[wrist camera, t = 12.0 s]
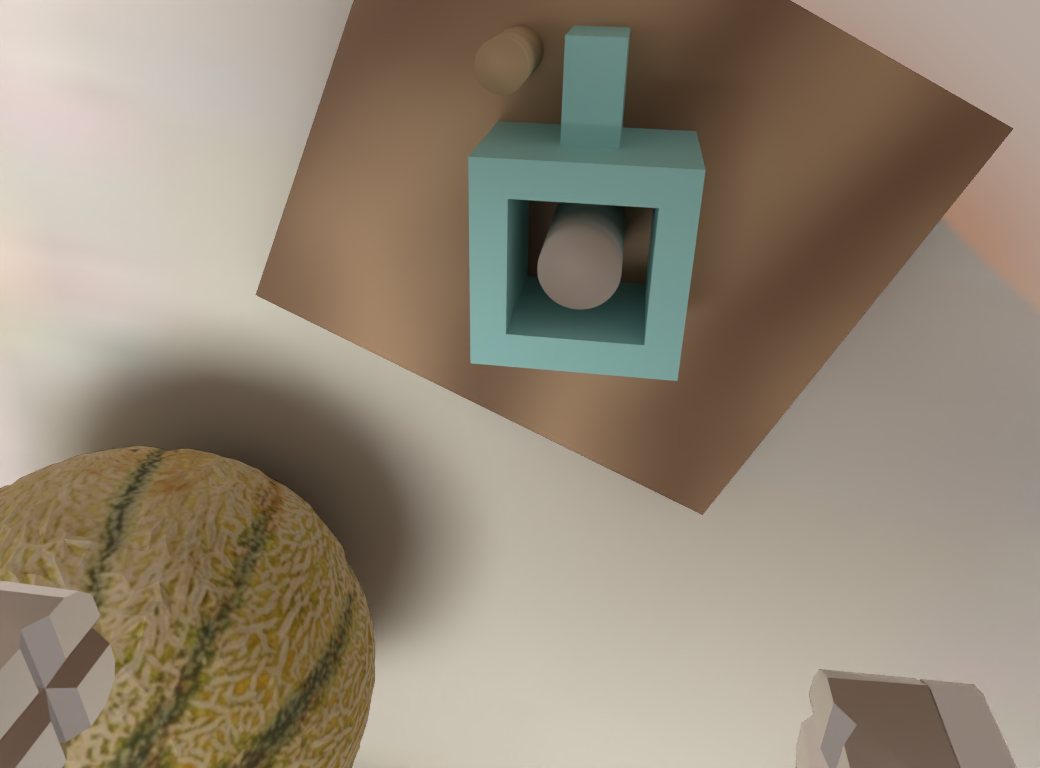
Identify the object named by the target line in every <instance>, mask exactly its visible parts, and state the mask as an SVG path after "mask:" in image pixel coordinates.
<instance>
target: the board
mask: <svg viewBox="0 0 1040 768" xmlns="http://www.w3.org/2000/svg"><path fill="white" fill-rule="evenodd" d="M574 25H580V26H608V27H631V30H630V43H629V55H628V68H627V80H626V92H625V105H624V117H623V128H643V129H663V130H683V131H697V136H698V140H699V144H700V148H701V153H702V157H703V161H704V165H705V169H706V171H705V178H704V186H703V193H702V201H701V208H700V216H699V223H698V230H697V238H696V245H695V253H694V260H693V268H692V275H691V283H690V290H689V298H688V305H687V313H686V320H685V328H684V335H683V343H682V350H681V358H680V365H679V373H678V380H677V381H672V380H660V379H648V378H636V377H625V376H613V375H601V374H590V373H578V372H566V371H555V370H543V369H531V368H519V367H508V366H496V365H484V364H473V363H471V360H470V267H469V175H468V156H469V155H470V154H471V153H472V152H473V150H474V149H475V148H476V147H477V146H478V144H479V143H480V142H481V141H482V140H483V139H484V137H485V136H486V135H487V134H488V133H489V131H490V130H491V129H492V128H493V127H494V125H495V124H496V123H497V122H498V121H504V122H524V123H544V124H561V118H562V95H563V73H564V50H565V35H566V34H567V33H568V32H569V30H570V29H571V28H572V27H573V26H574ZM1012 130H1013V128H1011V127H1010V126H1008V125H1006V124H1004V123H1003V122H1001V121H999V120H997V119H996V118H994V117H992V116H990V115H989V114H987V113H985V112H983V111H981V110H980V109H978V108H977V107H975V106H973V105H971V104H969V103H968V102H966V101H964V100H963V99H961V98H959V97H957V96H956V95H954V94H952V93H950V92H948V91H947V90H945V89H943V88H942V87H940V86H938V85H936V84H935V83H933V82H931V81H930V80H928V79H926V78H924V77H923V76H921V75H919V74H917V73H916V72H914V71H912V70H910V69H909V68H907V67H905V66H903V65H901V64H900V63H898V62H896V61H895V60H893V59H891V58H889V57H888V56H886V55H884V54H882V53H881V52H879V51H877V50H876V49H874V48H872V47H870V46H868V45H867V44H865V43H863V42H862V41H860V40H858V39H856V38H855V37H853V36H851V35H849V34H848V33H846V32H844V31H842V30H841V29H839V28H837V27H836V26H834V25H832V24H830V23H829V22H827V21H825V20H823V19H822V18H819V17H818V16H816V15H815V14H813V13H811V12H809V11H808V10H806V9H804V8H802V7H801V6H799V5H797V4H795V3H794V2H792V1H790V0H354V2H353V5H352V8H351V11H350V14H349V17H348V20H347V23H346V26H345V29H344V32H343V35H342V38H341V41H340V44H339V47H338V50H337V53H336V56H335V59H334V62H333V65H332V68H331V71H330V74H329V77H328V80H327V83H326V86H325V89H324V92H323V95H322V98H321V101H320V104H319V107H318V110H317V113H316V116H315V119H314V122H313V125H312V128H311V131H310V134H309V137H308V140H307V143H306V146H305V149H304V152H303V155H302V158H301V161H300V164H299V167H298V170H297V173H296V176H295V179H294V182H293V185H292V188H291V191H290V194H289V197H288V200H287V203H286V206H285V209H284V212H283V215H282V218H281V221H280V224H279V227H278V230H277V233H276V236H275V239H274V242H273V245H272V248H271V251H270V254H269V257H268V260H267V263H266V266H265V269H264V272H263V275H262V278H261V281H260V284H259V287H258V290H257V293H256V295H257V296H259V297H261V298H263V299H265V300H267V301H269V302H271V303H273V304H275V305H277V306H279V307H281V308H283V309H285V310H287V311H289V312H291V313H293V314H295V315H298V316H300V317H302V318H304V319H306V320H308V321H310V322H312V323H314V324H316V325H318V326H320V327H322V328H324V329H326V330H328V331H330V332H332V333H334V334H336V335H338V336H340V337H342V338H344V339H346V340H348V341H350V342H352V343H354V344H356V345H358V346H360V347H363V348H365V349H367V350H369V351H371V352H373V353H375V354H377V355H379V356H381V357H383V358H385V359H387V360H389V361H391V362H393V363H395V364H397V365H399V366H401V367H403V368H405V369H407V370H409V371H411V372H413V373H415V374H417V375H419V376H421V377H423V378H426V379H428V380H430V381H432V382H434V383H436V384H438V385H440V386H442V387H444V388H446V389H448V390H450V391H452V392H454V393H456V394H458V395H460V396H462V397H464V398H466V399H468V400H470V401H472V402H474V403H476V404H478V405H480V406H482V407H484V408H486V409H488V410H491V411H493V412H495V413H497V414H499V415H501V416H503V417H505V418H507V419H509V420H511V421H513V422H515V423H517V424H519V425H521V426H523V427H525V428H527V429H529V430H531V431H533V432H535V433H537V434H539V435H541V436H543V437H545V438H547V439H549V440H551V441H553V442H556V443H558V444H560V445H562V446H564V447H566V448H568V449H570V450H572V451H574V452H576V453H578V454H580V455H582V456H584V457H586V458H588V459H590V460H592V461H594V462H596V463H598V464H600V465H602V466H604V467H606V468H608V469H610V470H612V471H614V472H616V473H618V474H621V475H623V476H625V477H627V478H629V479H631V480H633V481H635V482H637V483H639V484H641V485H643V486H645V487H647V488H649V489H651V490H653V491H655V492H657V493H659V494H661V495H663V496H665V497H667V498H669V499H671V500H673V501H675V502H677V503H679V504H681V505H684V506H686V507H688V508H690V509H692V510H694V511H696V512H698V513H700V514H702V515H703V513H704V512H705V511H706V510H707V509H708V507H709V506H710V505H711V504H712V502H713V501H714V500H715V499H716V497H717V496H718V495H719V494H720V492H721V491H722V490H723V489H724V487H725V486H726V485H727V484H728V482H729V481H730V480H731V479H732V477H733V476H734V475H735V474H736V472H737V471H738V470H739V469H740V468H741V466H742V465H743V464H744V463H745V461H746V460H747V459H748V458H749V456H750V455H751V454H752V453H753V451H754V450H755V449H756V448H757V446H758V445H759V444H760V443H761V441H762V440H763V439H764V438H765V436H766V435H767V434H768V433H769V432H770V430H771V429H772V428H773V427H774V425H775V424H776V423H777V422H778V420H779V419H780V418H781V417H782V415H783V414H784V413H785V412H786V410H787V409H788V408H789V407H790V405H791V404H792V403H793V402H794V400H795V399H796V398H797V397H798V395H799V394H800V393H801V392H802V391H803V389H804V388H805V387H806V386H807V384H808V383H809V382H810V381H811V379H812V378H813V377H814V376H815V374H816V373H817V372H818V371H819V369H820V368H821V367H822V366H823V364H824V363H825V362H826V361H827V359H828V358H829V357H830V356H831V355H832V353H833V352H834V351H835V350H836V348H837V347H838V346H839V345H840V343H841V342H842V341H843V340H844V338H845V337H846V336H847V335H848V333H849V332H850V331H851V330H852V328H853V327H854V326H855V325H856V323H857V322H858V321H859V320H860V318H861V317H862V316H863V315H864V314H865V312H866V311H867V310H868V309H869V307H870V306H871V305H872V304H873V302H874V301H875V300H876V299H877V297H878V296H879V295H880V294H881V292H882V291H883V290H884V289H885V287H886V286H887V285H888V284H889V282H890V281H891V280H892V279H893V277H894V276H895V275H896V274H897V273H898V271H899V270H900V269H901V268H902V266H903V265H904V264H905V263H906V261H907V260H908V259H909V258H910V256H911V255H912V254H913V253H914V251H915V250H916V249H917V248H918V246H919V245H920V244H921V243H922V241H923V240H924V239H925V238H926V237H927V235H928V234H929V233H930V232H931V230H932V229H933V228H934V227H935V225H936V224H937V223H938V222H939V220H940V219H941V218H942V217H943V215H944V214H945V213H946V212H947V210H948V209H949V208H950V207H951V205H952V204H953V203H954V202H955V200H956V199H957V198H958V197H959V195H960V194H961V193H962V192H963V190H964V189H965V188H966V187H967V186H968V184H969V183H970V182H971V180H972V179H973V178H974V177H975V175H976V174H977V173H978V172H979V171H980V169H981V168H982V167H983V166H984V164H985V163H986V162H987V161H988V160H989V158H990V157H991V156H992V154H993V153H994V152H995V151H996V150H997V148H998V147H999V146H1000V145H1001V143H1002V142H1003V141H1004V139H1005V138H1006V137H1007V136H1008V135H1009V133H1010V132H1011V131H1012ZM652 214H653V208H647V207H631V206H615V205H599V204H582V203H566V202H550V201H533V200H529V237H528V274H527V275H528V276H538V278H539V282H540V284H541V286H542V288H543V290H544V291H545V293H546V294H547V295H548V296H549V297H550V298H551V299H552V300H553V301H555V302H556V303H558V304H560V305H562V306H564V307H567V308H571V309H580V310H581V309H589V308H593V307H596V306H598V305H601V304H602V303H604V302H605V301H607V300H608V299H609V298H610V297H611V296H612V295H613V294H614V292H615V291H616V289H617V287H618V285H619V283H620V282H625V283H639V284H645V282H646V272H647V262H648V253H649V243H650V233H651V224H652Z"/></svg>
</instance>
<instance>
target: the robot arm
mask: <svg viewBox="0 0 1040 768" xmlns="http://www.w3.org/2000/svg"><path fill="white" fill-rule="evenodd" d="M99 617H100V613H99V611H98V608H97V606H96V604H95V601H94V599H93V596H92V595H91V594H87V593H84V592H80V591H74V590H66V589H59V588H52V587H44V586H37V585H29V584H22V583H15V582H7V581H0V768H62V767H63V765H64V764H65V763H66V761H67V750H66V742H67V741H69V740H70V739H72V738H73V737H75V736H77V735H78V734H80V733H81V732H83V731H85V730H86V729H88V728H89V727H91V726H92V724H93V723H94V721H95V720H96V718H97V717H98V715H99V714H100V713H101V711H102V710H103V708H104V707H105V705H106V703H107V700H108V697H109V694H110V691H111V688H112V685H113V682H114V679H115V658H114V655H113V652H112V649H111V646H110V643H109V642H107V641H106V640H105V639H104V638H103V637H102V636H101V635H100V634H99V633H98V632H97V631H95V630H94V629H93V627H94V626H95V624H96V622H97V621H98V619H99ZM809 697H810V702H811V706H812V711H813V716H811V717H810V718H808V719H807V720H805V721H804V722H802V723H801V727H800V732H799V737H798V741H797V749H796V768H1017V767H1016V764H1015V762H1014V760H1013V758H1012V756H1011V754H1010V751H1009V749H1008V747H1007V745H1006V743H1005V740H1004V738H1003V736H1002V734H1001V732H1000V730H999V727H998V725H997V723H996V721H995V719H994V717H993V714H992V712H991V710H990V708H989V706H988V704H987V701H986V699H985V697H984V695H983V693H982V692H981V691H980V690H979V689H978V688H977V687H976V686H975V685H973V684H963V683H953V682H943V681H933V680H923V679H921V680H917V679H915V678H906V677H896V676H885V675H875V674H865V673H854V672H844V671H833V670H823V669H819V670H818V672H817V673H816V675H815V676H814V678H813V681H812V685H811V688H810V692H809Z"/></svg>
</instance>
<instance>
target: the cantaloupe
mask: <svg viewBox="0 0 1040 768" xmlns="http://www.w3.org/2000/svg"><path fill="white" fill-rule="evenodd" d="M0 581H7V582H15V583H22V584H29V585H37V586H44V587H52V588H59V589H66V590H74V591H80V592H84V593H87V594H91V595H92V596H93V599H94V601H95V604H96V606H97V608H98V611H99V613H100V617H99V619H98V621H97V622H96V624H95V626H94V627H93V629H94V630H95V631H97V632H98V633H99V634H100V635H101V636H102V637H103V638H104V639H105V640H106V641H107V642H109V643H110V646H111V649H112V652H113V655H114V658H115V679H114V682H113V685H112V688H111V691H110V694H109V697H108V700H107V703H106V705H105V707H104V708H103V710H102V711H101V713H100V714H99V715H98V717H97V718H96V720H95V721H94V723H93V724H92V726H91V727H89V728H88V729H86V730H85V731H83V732H81V733H80V734H78V735H77V736H75V737H73V738H72V739H70V740H69V741H67V742H66V750H67V761H66V763H65V764H64V765H63V767H62V768H352V766H353V762H354V759H355V757H356V754H357V752H358V750H359V747H360V742H361V739H362V736H363V733H364V730H365V727H366V724H367V720H368V715H369V709H370V703H371V697H372V692H373V687H374V683H375V640H374V633H373V629H374V622H373V620H372V617H371V614H370V612H369V609H368V605H367V601H366V597H365V594H364V592H363V590H362V588H361V586H360V584H359V582H358V580H357V578H356V575H355V573H354V572H353V570H352V569H351V567H350V566H349V565H348V563H347V559H346V556H345V552H344V548H343V547H342V545H341V544H340V543H339V541H338V540H337V539H336V537H335V536H334V535H333V533H332V532H331V531H330V530H329V529H328V527H327V526H326V525H325V523H324V522H323V521H322V520H321V519H320V518H319V516H318V515H317V514H316V513H315V512H314V510H313V509H312V507H311V506H310V504H309V503H307V502H306V501H305V500H304V499H302V498H301V497H300V496H298V495H297V494H296V493H294V492H293V491H292V490H290V489H289V488H288V487H286V486H285V485H283V484H281V483H279V482H277V481H275V480H273V479H271V478H269V477H268V476H267V475H265V474H264V473H263V472H261V471H260V470H259V469H257V468H254V467H251V466H249V465H247V464H244V463H242V462H240V461H238V460H235V459H231V458H225V457H222V456H219V455H217V454H214V453H209V452H203V451H197V450H192V449H177V450H172V451H169V450H164V449H159V448H153V447H145V446H133V447H126V448H118V449H112V450H105V451H99V452H93V453H90V454H82V455H79V456H75V457H72V458H69V459H67V460H65V461H63V462H60V463H56V464H53V465H50V466H47V467H45V468H43V469H40V470H38V471H35V472H33V473H31V474H28V475H26V476H24V477H21V478H20V479H18V480H17V481H16V482H14V483H13V484H12V485H7V486H4V487H2V488H0Z"/></svg>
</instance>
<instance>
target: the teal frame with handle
mask: <svg viewBox="0 0 1040 768" xmlns="http://www.w3.org/2000/svg"><path fill="white" fill-rule="evenodd" d="M630 30H631V27H608V26H580V25H574V26H573V27H572V28H571V29H570V30H569V32H568V33H567V34H566V35H565V50H564V73H563V95H562V118H561V124H544V123H524V122H504V121H498V122H497V123H496V124H495V125H494V127H493V128H492V129H491V130H490V131H489V133H488V134H487V135H486V136H485V137H484V139H483V140H482V141H481V142H480V143H479V144H478V146H477V147H476V148H475V149H474V150H473V152H472V153H471V154H470V155H469V156H468V175H469V267H470V360H471V363H473V364H484V365H496V366H508V367H519V368H531V369H543V370H555V371H566V372H578V373H590V374H601V375H613V376H625V377H636V378H648V379H660V380H672V381H677V380H678V373H679V365H680V358H681V350H682V343H683V335H684V328H685V320H686V313H687V305H688V298H689V290H690V283H691V275H692V268H693V260H694V253H695V245H696V238H697V230H698V223H699V216H700V208H701V201H702V193H703V186H704V178H705V171H706V169H705V165H704V161H703V157H702V153H701V148H700V144H699V140H698V136H697V131H683V130H663V129H643V128H623V117H624V105H625V92H626V80H627V68H628V55H629V43H630ZM529 200H533V201H550V202H566V203H582V204H599V205H615V206H631V207H647V208H653V214H652V224H651V233H650V243H649V253H648V262H647V272H646V282H645V284H639V283H625V282H620V283H619V285H618V287H617V289H616V291H615V292H614V294H613V295H612V296H611V297H610V298H609V299H608V300H607V301H605V302H604V303H602V304H601V305H598V306H596V307H593V308H589V309H581V310H580V309H571V308H567V307H564V306H562V305H560V304H558V303H556V302H555V301H553V300H552V299H551V298H550V297H549V296H548V295H547V294H546V293H545V291H544V290H543V288H542V286H541V284H540V282H539V278H538V276H528V275H527V274H528V237H529Z"/></svg>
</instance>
